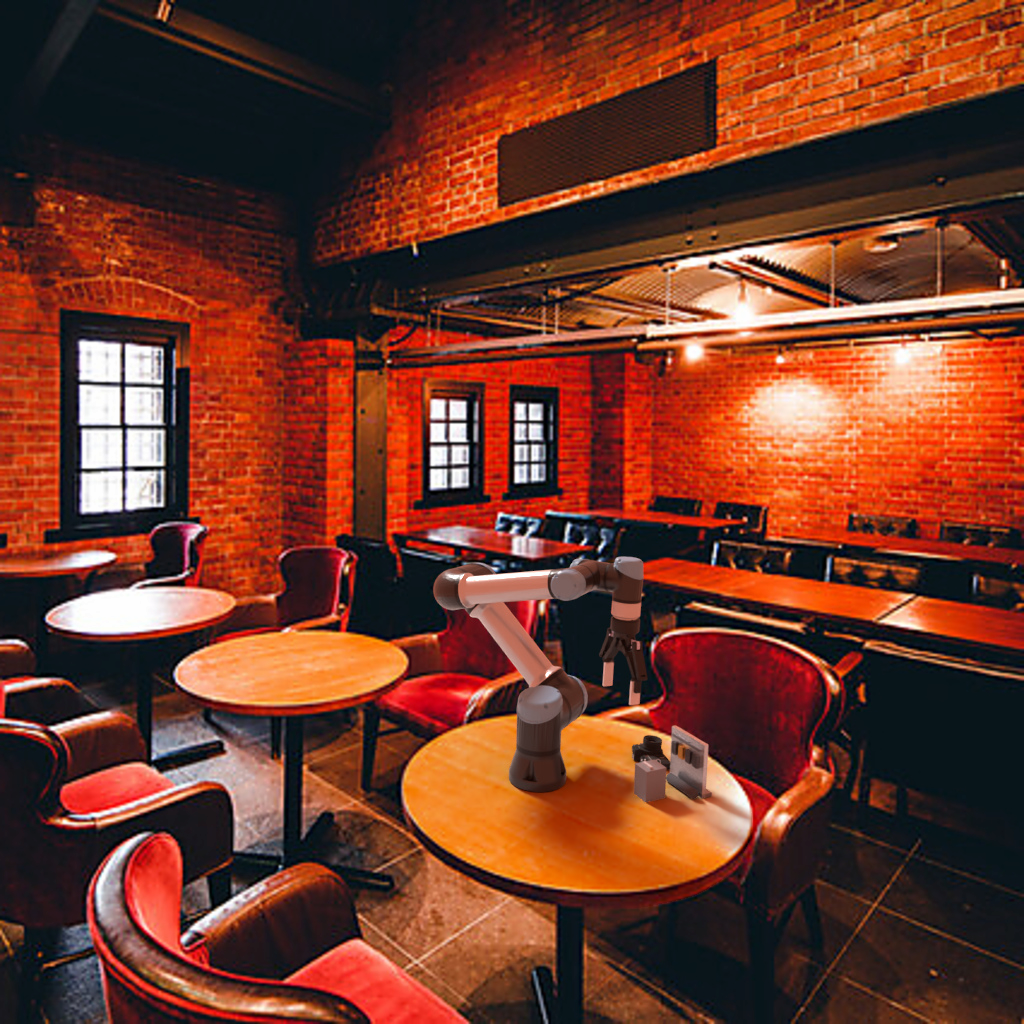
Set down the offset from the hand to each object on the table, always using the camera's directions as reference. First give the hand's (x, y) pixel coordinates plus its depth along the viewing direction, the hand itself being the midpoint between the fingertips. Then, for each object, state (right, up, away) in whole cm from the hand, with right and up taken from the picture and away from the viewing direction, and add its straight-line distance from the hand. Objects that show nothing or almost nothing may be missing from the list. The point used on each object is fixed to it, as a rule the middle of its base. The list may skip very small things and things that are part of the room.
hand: (620, 694), depth 194 cm
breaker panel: (+17, -23, -3) cm, 29 cm away
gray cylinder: (+15, -23, -5) cm, 28 cm away
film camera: (+10, -22, +11) cm, 27 cm away
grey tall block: (+6, -24, -8) cm, 26 cm away
